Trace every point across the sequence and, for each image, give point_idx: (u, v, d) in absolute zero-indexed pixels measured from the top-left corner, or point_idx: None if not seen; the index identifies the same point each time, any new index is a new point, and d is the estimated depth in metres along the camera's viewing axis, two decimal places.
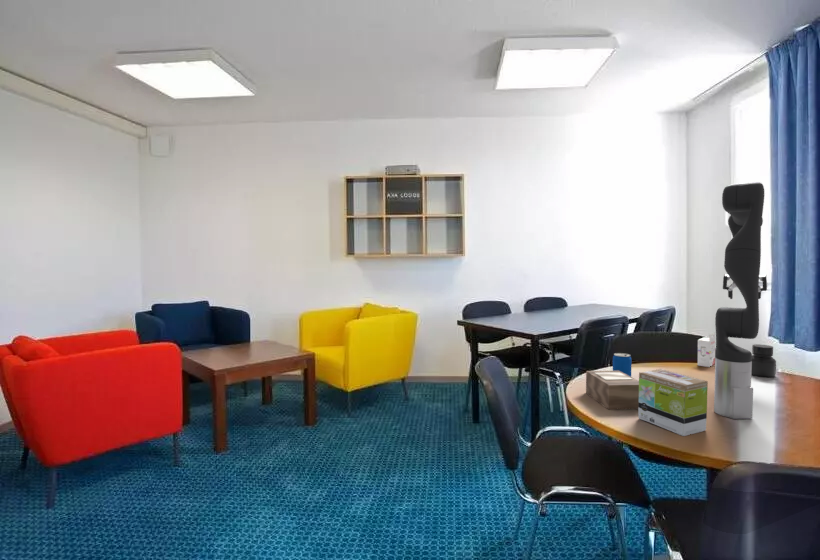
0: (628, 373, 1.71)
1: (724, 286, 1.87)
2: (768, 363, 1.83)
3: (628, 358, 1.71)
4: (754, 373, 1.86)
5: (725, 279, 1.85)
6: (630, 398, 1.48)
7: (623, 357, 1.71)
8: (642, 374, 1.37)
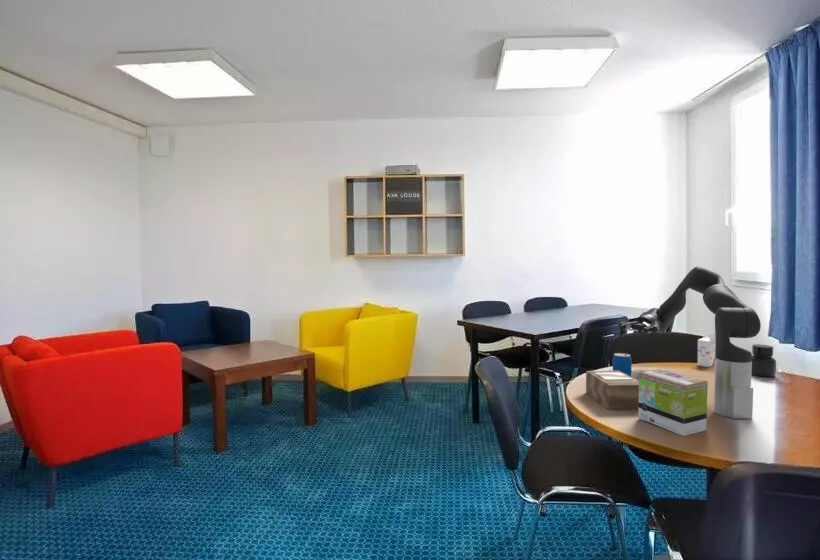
0: (628, 373, 1.71)
1: None
2: (768, 363, 1.83)
3: (628, 358, 1.71)
4: (754, 373, 1.86)
5: (624, 322, 1.92)
6: (630, 398, 1.48)
7: (623, 357, 1.71)
8: (642, 374, 1.37)
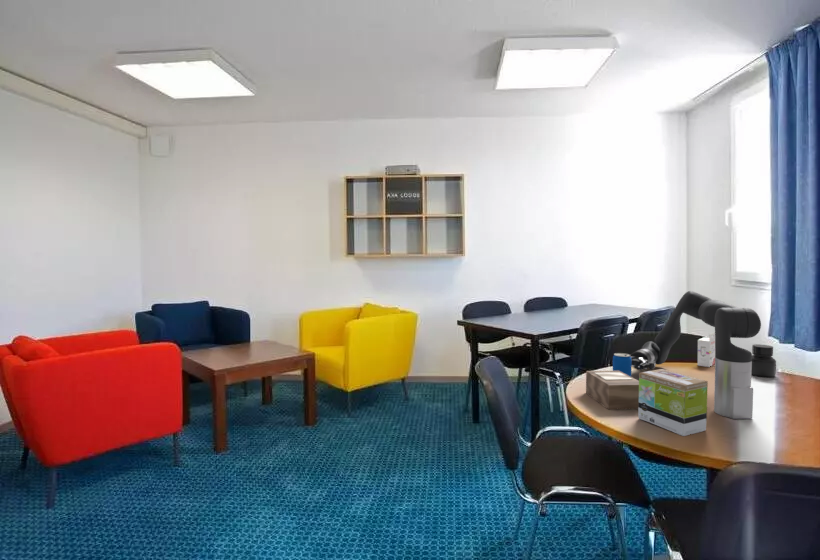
0: (628, 373, 1.71)
1: None
2: (768, 363, 1.83)
3: (628, 358, 1.71)
4: (754, 373, 1.86)
5: None
6: (630, 398, 1.48)
7: (623, 357, 1.71)
8: (642, 374, 1.37)
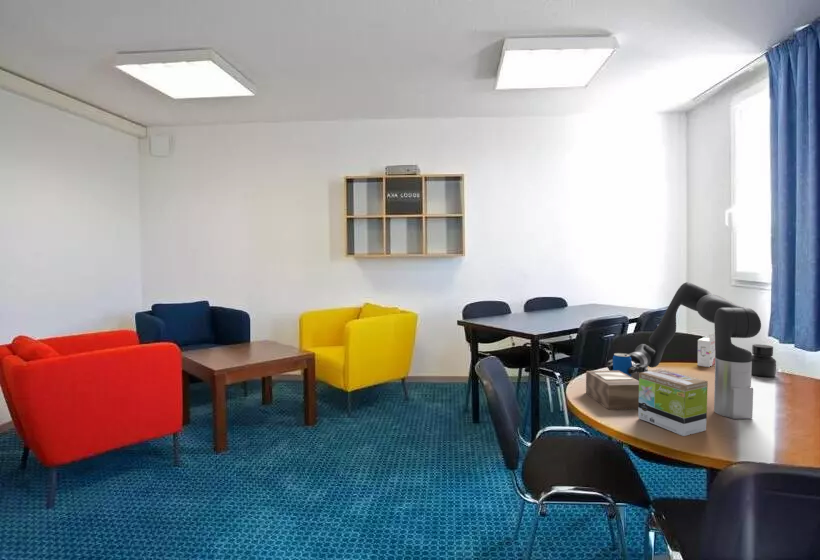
0: (628, 373, 1.71)
1: (609, 361, 1.80)
2: (768, 363, 1.83)
3: (628, 358, 1.71)
4: (754, 373, 1.86)
5: (612, 360, 1.83)
6: (630, 398, 1.48)
7: (623, 357, 1.71)
8: (642, 374, 1.37)
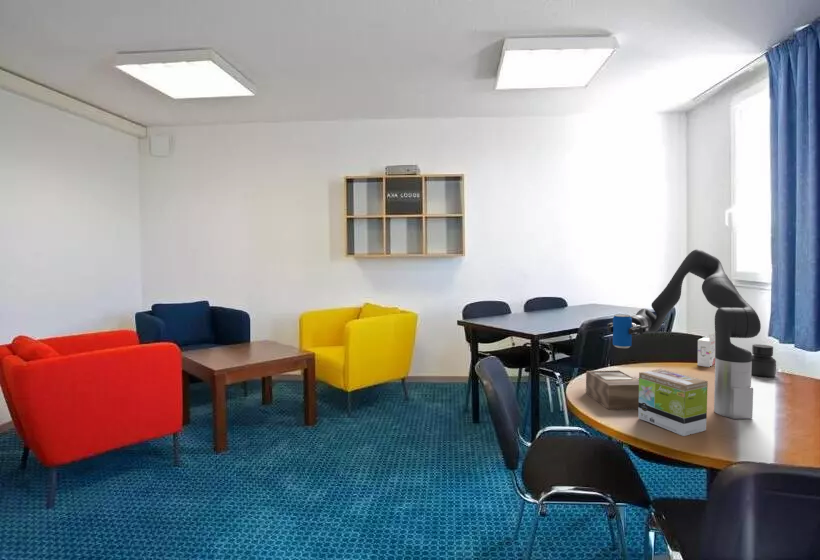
0: (628, 333, 1.69)
1: (610, 324, 1.79)
2: (768, 363, 1.83)
3: (628, 318, 1.69)
4: (754, 373, 1.86)
5: (612, 323, 1.81)
6: (630, 398, 1.48)
7: (623, 317, 1.69)
8: (642, 374, 1.37)
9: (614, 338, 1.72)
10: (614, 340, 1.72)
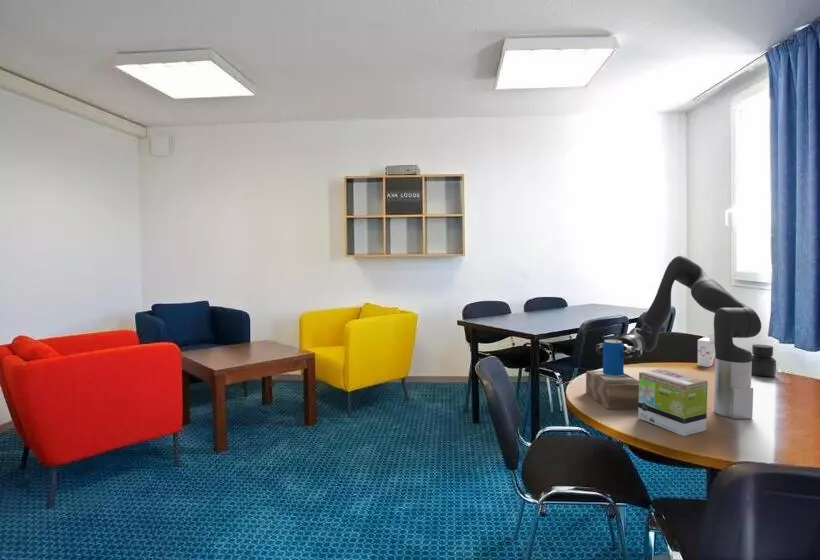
0: (620, 361, 1.54)
1: (598, 344, 1.64)
2: (768, 363, 1.83)
3: (620, 345, 1.54)
4: (754, 373, 1.86)
5: None
6: (630, 398, 1.48)
7: (614, 344, 1.54)
8: (642, 374, 1.37)
9: (604, 367, 1.57)
10: (604, 368, 1.57)
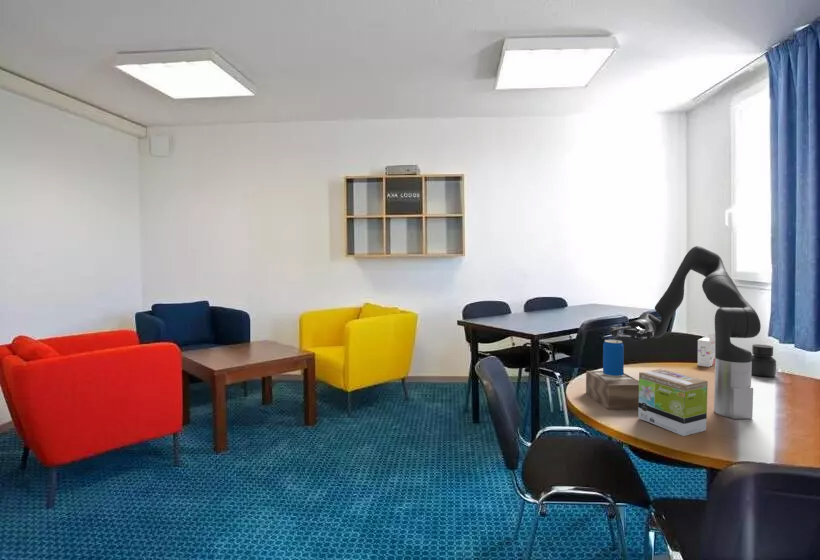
0: (620, 361, 1.54)
1: (612, 327, 1.73)
2: (768, 363, 1.83)
3: (620, 345, 1.54)
4: (754, 373, 1.86)
5: (616, 327, 1.75)
6: (630, 398, 1.48)
7: (614, 344, 1.54)
8: (642, 374, 1.37)
9: (604, 367, 1.57)
10: (604, 368, 1.57)
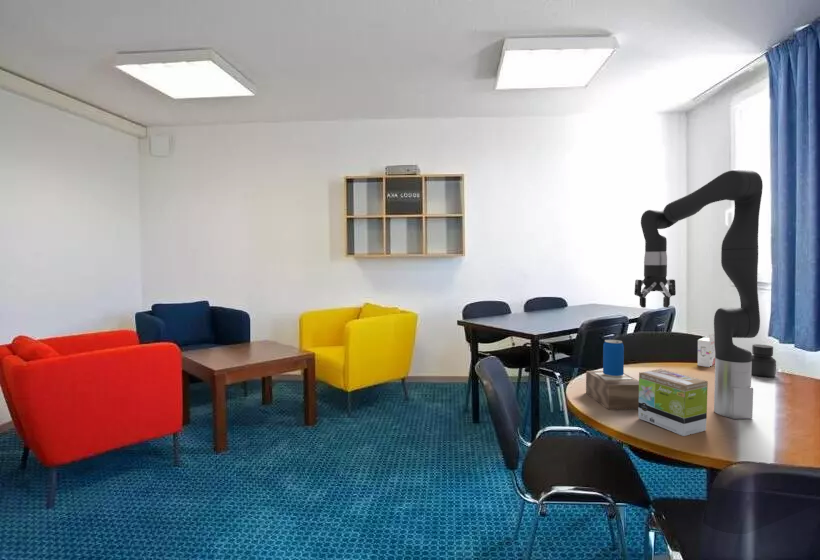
0: (620, 361, 1.54)
1: (639, 292, 1.69)
2: (768, 363, 1.83)
3: (620, 345, 1.54)
4: (754, 373, 1.86)
5: (640, 283, 1.69)
6: (630, 398, 1.48)
7: (614, 344, 1.54)
8: (642, 374, 1.37)
9: (604, 367, 1.57)
10: (604, 368, 1.57)
